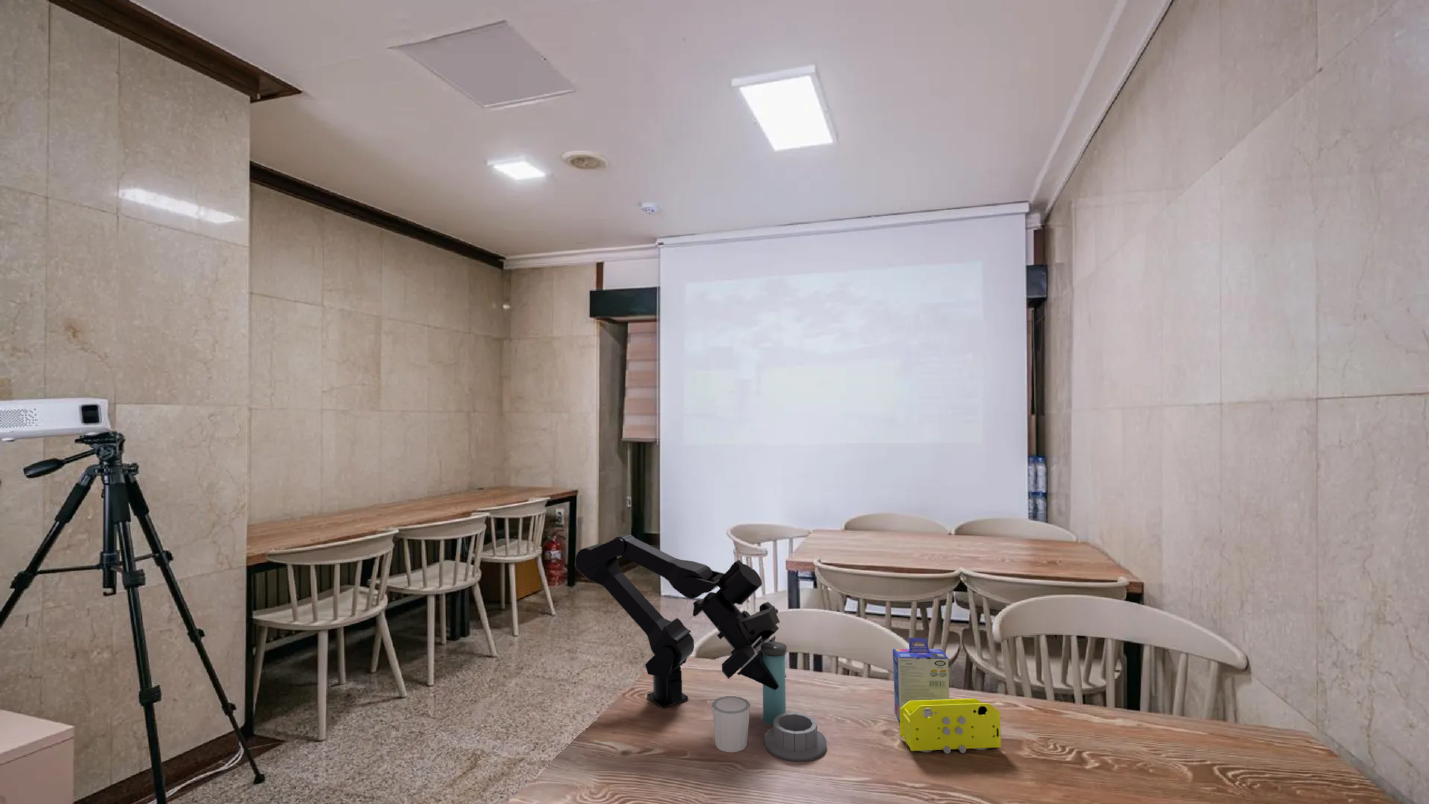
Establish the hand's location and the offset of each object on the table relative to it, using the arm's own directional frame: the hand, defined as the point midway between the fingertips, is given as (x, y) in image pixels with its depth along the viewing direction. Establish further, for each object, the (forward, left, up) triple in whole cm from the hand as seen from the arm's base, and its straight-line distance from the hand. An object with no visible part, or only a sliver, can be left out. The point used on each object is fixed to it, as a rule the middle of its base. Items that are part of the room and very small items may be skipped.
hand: (780, 683), depth 116 cm
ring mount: (+8, -4, -7) cm, 11 cm away
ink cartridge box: (+15, +23, -7) cm, 29 cm away
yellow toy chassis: (+24, +18, -7) cm, 31 cm away
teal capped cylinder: (-1, -1, -7) cm, 7 cm away
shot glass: (+1, -13, -7) cm, 15 cm away
